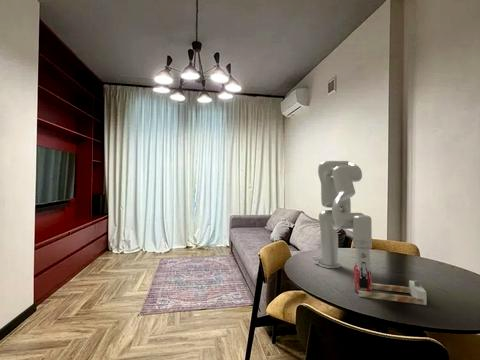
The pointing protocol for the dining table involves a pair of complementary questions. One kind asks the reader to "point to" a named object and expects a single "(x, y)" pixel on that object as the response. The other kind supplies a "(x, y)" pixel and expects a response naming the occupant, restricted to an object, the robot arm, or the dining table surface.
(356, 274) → the soda can
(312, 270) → the dining table surface
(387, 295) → the guide channel
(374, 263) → the dining table surface
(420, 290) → the connector block
